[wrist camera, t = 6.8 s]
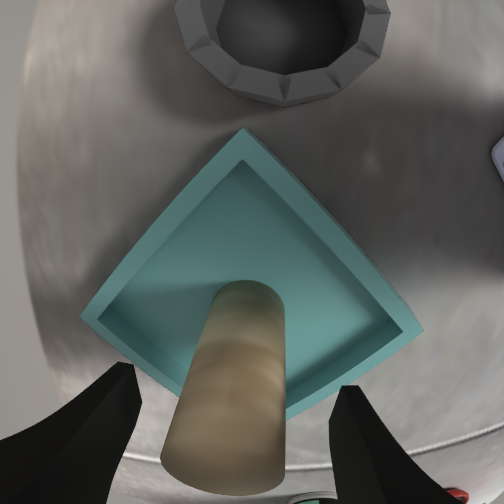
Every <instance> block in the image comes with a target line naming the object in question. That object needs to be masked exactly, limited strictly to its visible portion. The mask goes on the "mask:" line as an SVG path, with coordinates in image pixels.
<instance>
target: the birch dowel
mask: <svg viewBox="0 0 504 504" xmlns="http://www.w3.org/2000/svg"><path fill="white" fill-rule="evenodd" d="M285 438H286V348H285V308H284V304H283V301H282V299H281V298H280V296H279V295H278V294H277V293H276V291H274V290H273V289H272V288H271V287H269V286H267V285H265V284H263V283H261V282H257V281H253V280H239V281H235V282H232V283H229V284H227V285H225V286H224V287H222V288H221V289H220V290H219V291H218V292H217V294H216V295H215V297H214V299H213V301H212V304H211V307H210V310H209V313H208V316H207V319H206V321H205V324H204V327H203V330H202V333H201V336H200V339H199V342H198V344H197V347H196V350H195V353H194V356H193V359H192V362H191V365H190V368H189V371H188V374H187V377H186V380H185V383H184V386H183V389H182V392H181V394H180V397H179V400H178V403H177V406H176V409H175V412H174V415H173V419H172V422H171V425H170V428H169V431H168V434H167V437H166V440H165V443H164V446H163V449H162V452H161V455H160V460H161V463H162V465H163V467H164V468H165V470H166V471H167V472H168V473H169V474H170V475H172V476H173V477H174V478H176V479H177V480H179V481H181V482H182V483H184V484H186V485H189V486H191V487H193V488H196V489H199V490H202V491H206V492H210V493H215V494H221V495H231V496H245V495H254V494H259V493H263V492H266V491H269V490H271V489H274V488H275V487H277V486H278V485H279V484H281V482H282V481H283V479H284V477H285Z"/></svg>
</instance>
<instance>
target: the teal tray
mask: <svg viewBox="0 0 504 504" xmlns="http://www.w3.org/2000/svg"><path fill="white" fill-rule="evenodd" d="M239 280H253V281H257V282H261V283H263V284H265V285H267V286H269V287H271V288H272V289H273V290H274V291H276V293H277V294H278V295H279V296H280V298H281V299H282V301H283V304H284V308H285V348H286V420H288V419H290V418H292V417H293V416H295V415H297V414H299V413H301V412H303V411H304V410H306V409H308V408H310V407H311V406H313V405H315V404H317V403H318V402H320V401H322V400H323V399H325V398H327V397H328V396H330V395H332V394H333V393H335V392H337V391H338V390H340V388H341V385H348V384H350V383H351V382H353V381H354V380H356V379H357V378H359V377H360V376H362V375H363V374H365V373H366V372H368V371H369V370H371V369H372V368H374V367H375V366H377V365H378V364H380V363H381V362H382V361H384V360H385V359H387V358H388V357H390V356H391V355H392V354H394V353H395V352H396V351H398V350H399V349H401V348H402V347H403V346H405V345H406V344H407V343H409V342H410V341H411V340H413V339H414V338H415V337H416V336H418V335H419V334H420V333H422V332H423V331H424V330H423V328H422V327H421V325H420V323H419V322H418V320H417V318H416V317H415V315H414V313H413V312H412V310H411V309H410V308H409V306H408V305H407V304H406V303H405V301H404V300H403V299H402V298H401V296H400V295H399V294H398V293H397V291H396V290H395V289H394V288H393V286H392V285H391V284H390V283H389V281H388V280H387V279H386V278H385V276H384V275H383V274H382V273H381V272H380V270H379V269H378V268H377V267H376V266H375V264H374V263H373V262H372V261H371V260H370V258H369V257H368V256H367V255H366V254H365V252H364V251H363V250H362V249H361V248H360V247H359V245H358V244H357V243H356V242H355V241H354V240H353V239H352V237H351V236H350V235H349V234H348V233H347V232H346V231H345V229H344V228H343V227H342V226H341V225H340V224H339V223H338V221H337V220H336V219H335V218H334V217H333V216H332V215H331V214H330V213H329V212H328V210H327V209H326V208H325V207H324V206H323V205H322V204H321V203H320V202H319V201H318V200H317V198H316V197H315V196H314V195H313V194H312V193H311V192H310V191H309V190H308V189H307V188H306V187H305V186H304V185H303V184H302V182H301V181H300V180H299V179H298V178H297V177H296V176H295V175H294V174H293V173H292V172H291V171H290V170H289V169H288V168H287V167H286V166H285V165H284V164H283V163H282V162H281V161H280V160H279V159H278V158H277V157H276V156H275V155H274V154H273V153H272V152H271V151H270V150H269V149H268V148H267V147H266V146H265V145H264V144H263V143H262V142H261V141H260V140H259V139H258V138H257V137H256V136H255V135H254V134H253V133H252V132H251V131H250V130H249V129H248V128H247V127H246V128H242V129H241V130H240V131H239V132H237V133H236V134H235V135H234V136H233V137H232V138H231V139H230V140H229V141H228V142H227V144H226V145H225V146H224V147H223V148H222V149H221V150H220V151H219V152H218V153H217V154H216V155H215V156H214V157H213V158H212V159H211V160H210V161H209V162H208V163H207V164H206V165H205V166H204V167H203V168H202V169H201V170H200V172H199V173H198V174H197V175H196V176H195V177H194V178H193V179H192V180H191V181H190V182H189V183H188V184H187V186H186V187H185V188H184V189H183V190H182V191H181V192H180V193H179V194H178V195H177V197H176V198H175V199H174V200H173V201H172V202H171V203H170V204H169V206H168V207H167V208H166V209H165V210H164V211H163V212H162V213H161V215H160V216H159V217H158V218H157V219H156V220H155V222H154V223H153V224H152V225H151V226H150V227H149V229H148V230H147V231H146V232H145V233H144V234H143V236H142V237H141V238H140V239H139V240H138V242H137V243H136V244H135V245H134V247H133V248H132V249H131V250H130V251H129V253H128V254H127V255H126V256H125V258H124V259H123V260H122V261H121V263H120V264H119V265H118V266H117V268H116V269H115V270H114V271H113V273H112V274H111V275H110V276H109V278H108V279H107V280H106V282H105V283H104V284H103V285H102V287H101V288H100V289H99V291H98V292H97V293H96V295H95V296H94V297H93V299H92V300H91V301H90V303H89V304H88V305H87V307H86V308H85V309H84V311H83V312H82V314H81V315H80V316H79V317H80V318H81V319H82V320H83V321H84V322H85V323H86V324H87V325H88V326H90V327H91V328H92V329H93V330H94V331H95V332H96V333H97V334H99V335H100V336H101V337H102V338H103V339H104V340H105V341H107V342H108V343H109V344H110V345H111V346H113V347H114V348H115V349H116V350H117V351H119V352H120V353H121V354H122V355H123V356H125V357H126V358H127V359H128V360H130V361H131V362H132V363H133V364H135V365H136V366H137V367H139V368H140V369H141V370H142V371H144V372H145V373H146V374H148V375H149V376H150V377H152V378H153V379H154V380H156V381H157V382H158V383H160V384H161V385H163V386H164V387H165V388H167V389H168V390H169V391H171V392H172V393H174V394H175V395H177V396H178V397H180V394H181V392H182V389H183V386H184V383H185V380H186V377H187V374H188V371H189V368H190V365H191V362H192V359H193V356H194V353H195V350H196V347H197V344H198V342H199V339H200V336H201V333H202V330H203V327H204V324H205V321H206V319H207V316H208V313H209V310H210V307H211V304H212V301H213V299H214V297H215V295H216V294H217V292H218V291H219V290H220V289H221V288H222V287H224V286H225V285H227V284H229V283H232V282H235V281H239Z"/></svg>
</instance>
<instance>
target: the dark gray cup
mask: <svg viewBox="0 0 504 504" xmlns="http://www.w3.org/2000/svg"><path fill="white" fill-rule="evenodd" d="M174 10H175V14H176V17H177V21H178V24H179V28H180V31H181V35H182V38H183V42H184V45H185V49H186V53H187V54H189V55H190V56H191V57H192V58H194V59H195V60H196V61H197V62H198V63H200V64H201V65H202V66H203V67H204V68H205V69H207V70H208V71H209V72H210V73H211V74H212V75H213V76H215V77H216V78H217V79H218V80H219V81H220V82H221V83H223V84H224V85H225V86H226V87H227V88H228V89H229V90H231V91H232V92H233V93H234V94H236V95H237V96H240V97H244V98H249V99H252V100H255V101H258V102H262V103H267V104H272V105H276V106H279V107H286V106H290V105H295V104H302V103H306V102H310V101H314V100H319V99H324V98H328V97H330V96H332V95H334V94H336V93H338V92H340V91H342V89H344V88H345V87H346V86H347V85H348V84H349V83H350V82H352V81H353V80H354V79H355V78H356V77H357V76H359V75H360V74H361V73H362V72H363V71H365V70H366V69H367V68H368V67H369V66H370V65H372V64H373V63H374V62H375V61H376V60H378V59H379V58H380V55H381V51H382V47H383V43H384V39H385V35H386V31H387V27H388V22H389V18H390V14H391V13H390V10H389V8H388V5H387V3H386V0H177V1H176V3H175V6H174Z"/></svg>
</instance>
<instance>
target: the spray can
mask: <svg viewBox="0 0 504 504" xmlns="http://www.w3.org/2000/svg"><path fill="white" fill-rule="evenodd" d="M287 504H338V501H337V493H332V492H312V493H306V494H302V495H298V496H296V497H293V498H292V499H290V500H289V501H288V503H287Z"/></svg>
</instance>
